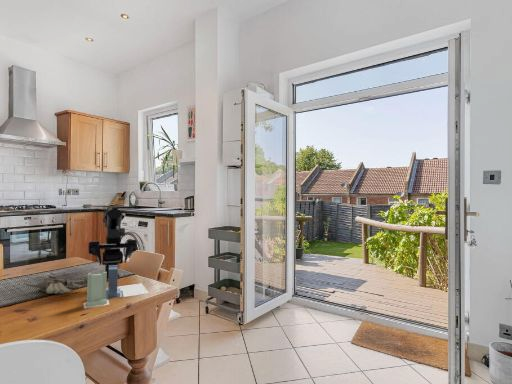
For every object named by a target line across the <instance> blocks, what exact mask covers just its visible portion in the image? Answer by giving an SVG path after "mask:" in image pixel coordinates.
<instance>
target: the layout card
mask: <svg viewBox="0 0 512 384" xmlns="http://www.w3.org/2000/svg"><path fill="white" fill-rule="evenodd" d="M119 288H120V292H121V295H120V297H114V298H106V304H103V305H96V306H90V307H87V301H86V302H83V304H82V305H83V309H84V310H85V309H90V308H96V307H102V306H109V305H110V302H109V300H113V299H118V298H119V299H121V298H126V297H127V298H128V297H131V296H139V295H145V294H150V292H149V291H148V289H147V288H146V287H145V286H144V285H143V283H142V282H141V283H134V284H127V285H120V286H118V285H117V289H119ZM106 290H108V287H106Z"/></svg>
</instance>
